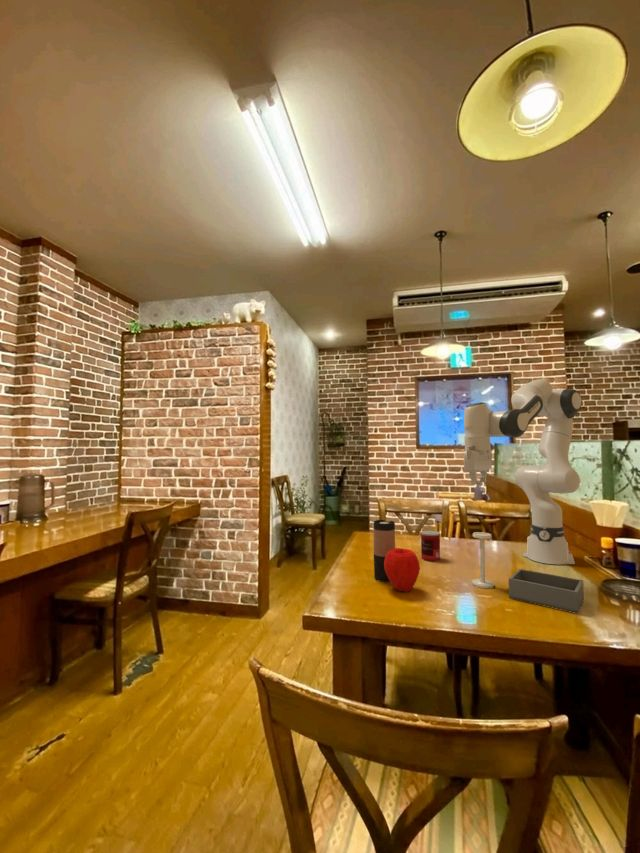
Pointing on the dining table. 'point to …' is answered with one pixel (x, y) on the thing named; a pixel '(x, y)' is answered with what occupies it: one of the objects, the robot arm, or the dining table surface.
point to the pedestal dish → (482, 562)
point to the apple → (401, 568)
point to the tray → (547, 590)
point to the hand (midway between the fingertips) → (478, 483)
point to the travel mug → (382, 546)
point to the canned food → (430, 545)
